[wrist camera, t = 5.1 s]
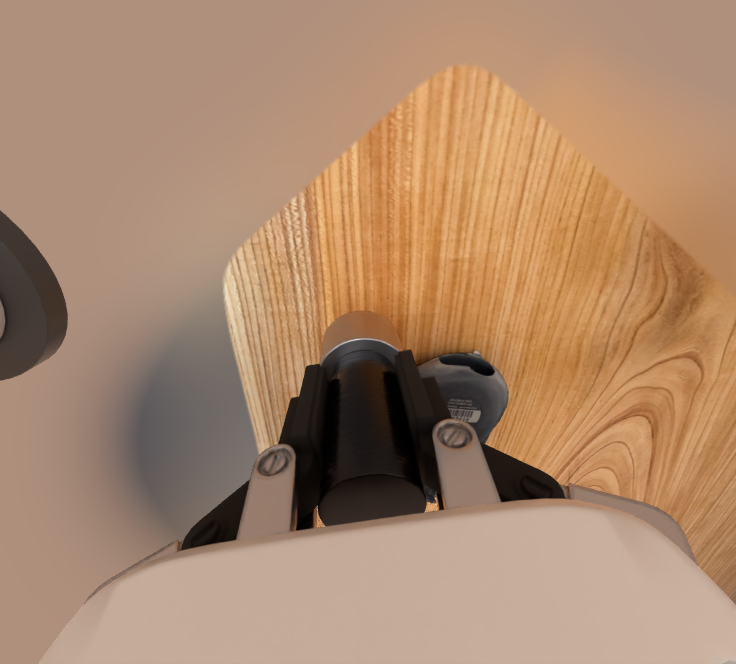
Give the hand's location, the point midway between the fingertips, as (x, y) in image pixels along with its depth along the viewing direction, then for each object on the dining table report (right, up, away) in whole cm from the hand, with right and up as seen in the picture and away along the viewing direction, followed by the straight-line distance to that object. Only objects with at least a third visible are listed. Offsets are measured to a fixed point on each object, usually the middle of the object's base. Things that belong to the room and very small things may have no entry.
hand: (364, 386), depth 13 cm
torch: (0, +2, +3) cm, 4 cm away
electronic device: (+7, -5, +14) cm, 17 cm away
